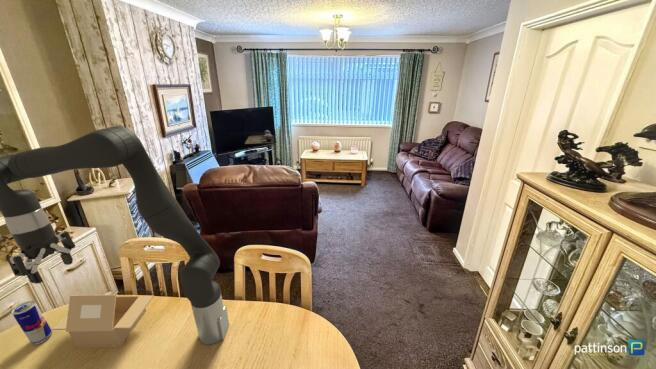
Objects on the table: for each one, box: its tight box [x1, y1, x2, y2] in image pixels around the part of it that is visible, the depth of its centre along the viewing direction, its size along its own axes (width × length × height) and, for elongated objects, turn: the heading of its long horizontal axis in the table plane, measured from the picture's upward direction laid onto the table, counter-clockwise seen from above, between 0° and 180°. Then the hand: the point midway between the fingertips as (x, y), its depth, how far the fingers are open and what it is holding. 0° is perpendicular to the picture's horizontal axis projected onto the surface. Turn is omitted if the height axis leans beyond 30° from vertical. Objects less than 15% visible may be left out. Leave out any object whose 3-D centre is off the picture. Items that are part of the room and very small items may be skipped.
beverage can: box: [11, 300, 53, 345], centre depth 83 cm, size 5×5×15 cm
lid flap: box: [65, 294, 117, 333], centre depth 81 cm, size 14×11×1 cm
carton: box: [52, 294, 155, 348], centre depth 88 cm, size 24×14×8 cm, turn 93°
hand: (54, 272), depth 77 cm, fingers open, 8 cm apart
